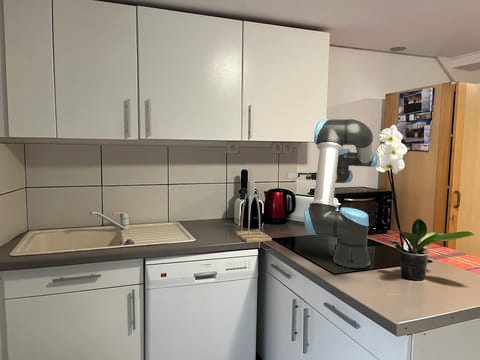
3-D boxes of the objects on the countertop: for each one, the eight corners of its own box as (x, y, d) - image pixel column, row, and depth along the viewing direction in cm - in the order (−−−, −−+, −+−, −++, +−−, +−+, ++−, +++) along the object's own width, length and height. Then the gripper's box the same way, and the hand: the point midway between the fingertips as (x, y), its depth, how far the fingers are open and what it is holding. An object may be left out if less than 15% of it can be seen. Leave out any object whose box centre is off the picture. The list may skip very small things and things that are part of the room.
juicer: (264, 236, 185) (265, 179, 182) (248, 237, 182) (249, 180, 179) (255, 231, 195) (257, 177, 192) (240, 232, 191) (242, 178, 188)
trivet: (271, 240, 182) (271, 238, 182) (246, 242, 177) (246, 239, 177) (258, 232, 199) (258, 229, 199) (235, 233, 194) (235, 231, 194)
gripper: (340, 185, 184) (305, 185, 176) (314, 180, 207) (282, 180, 200) (341, 171, 183) (306, 170, 176) (314, 168, 206) (282, 167, 199)
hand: (293, 176), depth 188 cm, fingers open, 13 cm apart
